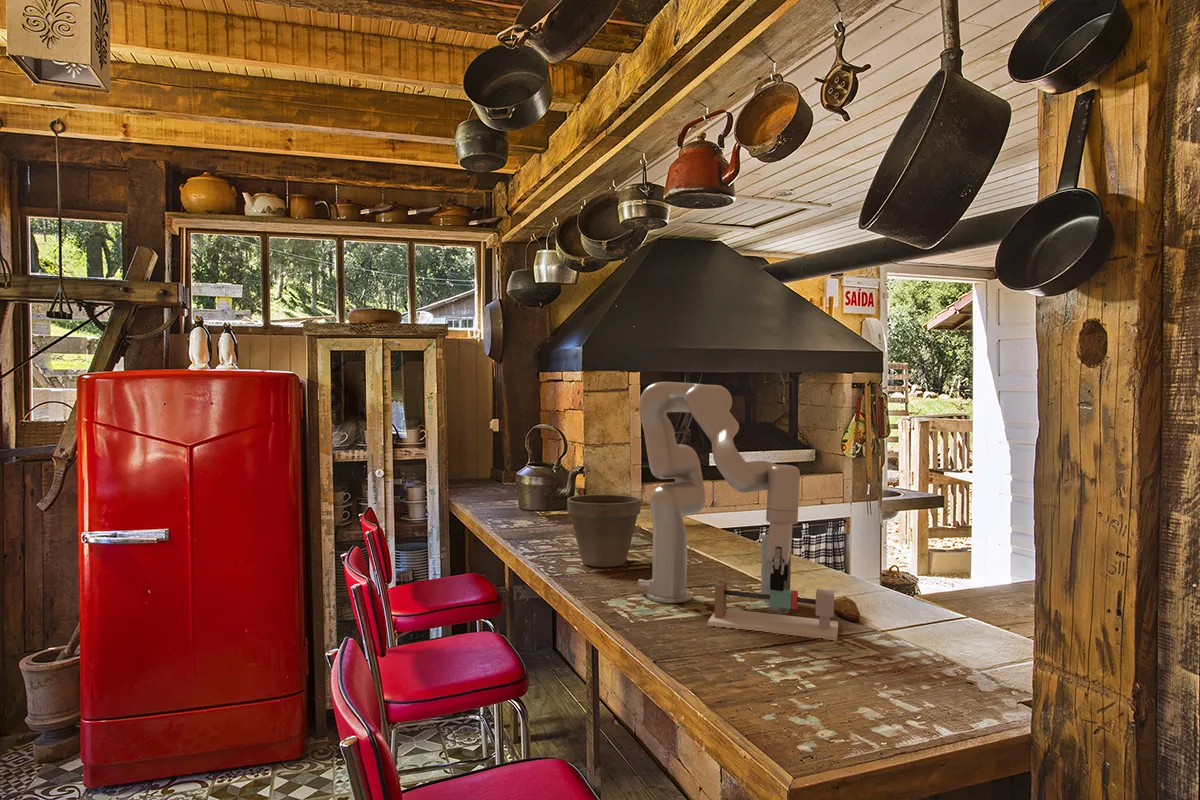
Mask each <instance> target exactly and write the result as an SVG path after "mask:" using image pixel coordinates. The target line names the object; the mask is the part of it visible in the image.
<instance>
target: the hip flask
mask: <svg viewBox="0 0 1200 800" xmlns="http://www.w3.org/2000/svg"><path fill="white" fill-rule="evenodd" d="M768 536H769V530H766V534H762V535H761V571H760V572H761V577H760V578H761V579H760V581H761V582H760V584H761V585H760V594H769V595H770V591H771V589H770V575H771V569H772V562H770V563H768V562H767V551H768ZM791 558H792V551H791V552H790V558H789V561H788V563H787V564H786V565H788V579H787V581H784V589H785V590H791V574H792V573H791V569H792V568H791V567H792V565H791V564H792V560H791ZM772 561H773V560H772ZM763 600H764V602H765V603H767V604H768V605H769V606H770V600H768V599H763ZM763 600H762V601H763ZM764 602H763V603H764ZM765 603H764V604H765ZM768 605H767V606H768ZM769 606H768V607H769ZM772 608H774V609H775V610H777V611H779V612H785V613H786V612H790V613H791V609H788V608H779V607H772ZM772 608H771V609H772ZM775 610H774V611H775ZM777 611H776V612H777ZM779 612H778V613H779Z"/></svg>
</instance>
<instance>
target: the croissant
mask: <svg viewBox="0 0 1200 800" xmlns="http://www.w3.org/2000/svg"><path fill="white" fill-rule="evenodd" d="M834 614H835V615H837V616H839V617H841V618H843V619H845V620H848V621H850V622H854V623H858V622H860V618H861V613H860V611H859V608H858V606H857V603H856V602H855V601H854V600H852V599H851V598H848V597H847V596H843V597H840V598H834Z"/></svg>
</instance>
